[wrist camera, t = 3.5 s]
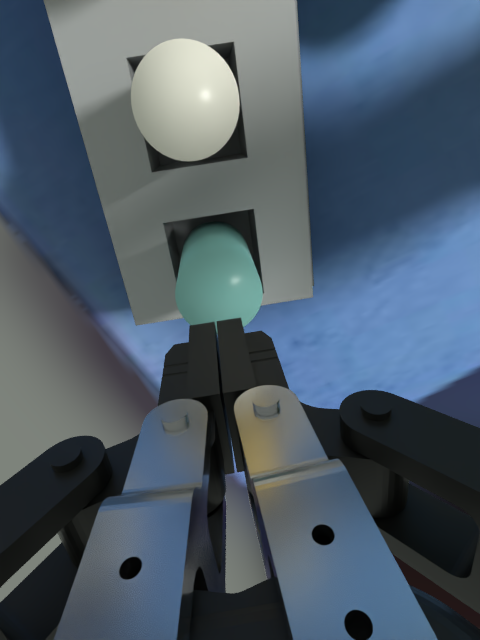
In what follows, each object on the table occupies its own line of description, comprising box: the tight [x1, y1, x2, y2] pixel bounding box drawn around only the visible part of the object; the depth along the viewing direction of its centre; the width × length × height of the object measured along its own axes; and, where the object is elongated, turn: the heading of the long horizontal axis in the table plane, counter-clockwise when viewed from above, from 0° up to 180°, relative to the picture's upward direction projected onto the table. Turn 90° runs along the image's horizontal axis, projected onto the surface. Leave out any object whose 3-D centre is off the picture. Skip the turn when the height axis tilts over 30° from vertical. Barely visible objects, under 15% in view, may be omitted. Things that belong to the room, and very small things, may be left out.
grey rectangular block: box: [44, 0, 314, 325], centre depth 21 cm, size 12×22×7 cm, turn 8°
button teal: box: [175, 221, 263, 334], centre depth 19 cm, size 4×4×6 cm
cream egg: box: [131, 38, 240, 161], centre depth 16 cm, size 4×4×6 cm
